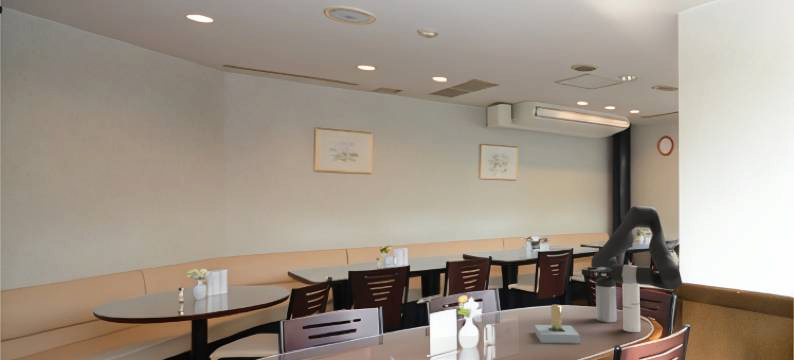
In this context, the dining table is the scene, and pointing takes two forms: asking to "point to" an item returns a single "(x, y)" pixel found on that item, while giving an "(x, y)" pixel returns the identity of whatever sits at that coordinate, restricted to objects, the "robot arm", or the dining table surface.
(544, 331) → the jig
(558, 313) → the yellow tall cylinder
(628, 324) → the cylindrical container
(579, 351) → the dining table surface
